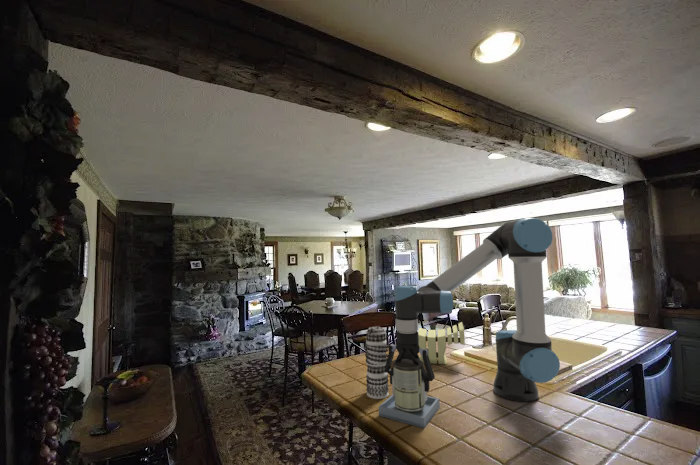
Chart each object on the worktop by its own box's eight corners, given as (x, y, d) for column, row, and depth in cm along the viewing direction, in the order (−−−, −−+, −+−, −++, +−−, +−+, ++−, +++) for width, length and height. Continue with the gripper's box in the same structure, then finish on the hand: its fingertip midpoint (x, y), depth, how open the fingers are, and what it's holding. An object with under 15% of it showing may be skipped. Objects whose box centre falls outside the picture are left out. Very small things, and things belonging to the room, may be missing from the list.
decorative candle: (364, 398, 121) (362, 330, 122) (366, 388, 130) (365, 325, 132) (389, 399, 119) (387, 330, 121) (389, 389, 129) (387, 325, 130)
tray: (439, 407, 113) (439, 398, 113) (424, 428, 100) (423, 418, 100) (398, 397, 121) (397, 389, 121) (378, 416, 108) (378, 406, 108)
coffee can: (392, 398, 115) (390, 358, 116) (420, 397, 115) (419, 356, 116) (397, 412, 105) (395, 368, 106) (428, 411, 105) (426, 366, 106)
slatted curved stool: (400, 363, 158) (399, 326, 159) (404, 353, 174) (403, 320, 175) (465, 367, 150) (464, 328, 152) (463, 357, 166) (461, 321, 167)
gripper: (443, 332, 109) (446, 400, 108) (382, 325, 121) (384, 387, 120) (436, 337, 103) (439, 409, 101) (373, 329, 115) (375, 394, 113)
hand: (409, 397), depth 111 cm, fingers closed on coffee can, 10 cm apart
